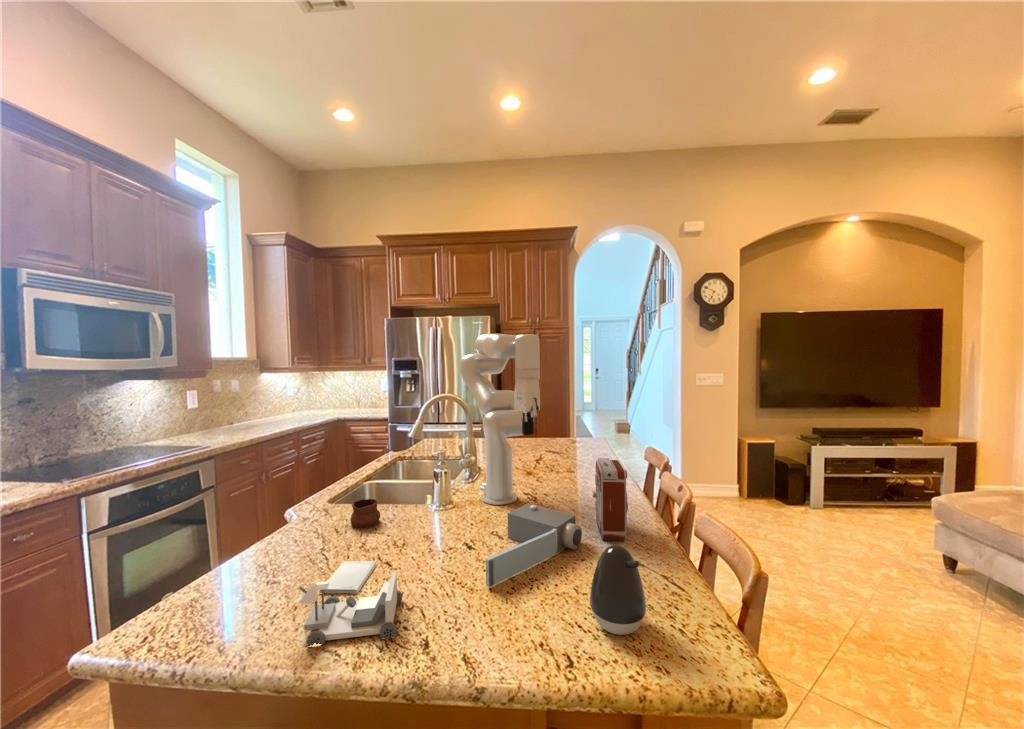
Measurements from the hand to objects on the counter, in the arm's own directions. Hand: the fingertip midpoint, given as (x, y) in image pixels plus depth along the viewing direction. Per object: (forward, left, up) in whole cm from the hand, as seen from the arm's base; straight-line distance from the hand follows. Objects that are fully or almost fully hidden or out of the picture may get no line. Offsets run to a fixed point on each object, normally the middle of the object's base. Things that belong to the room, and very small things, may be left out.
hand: (527, 434), depth 127 cm
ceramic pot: (-40, -31, -28) cm, 57 cm away
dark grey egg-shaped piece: (+42, -30, -27) cm, 58 cm away
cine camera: (+22, +10, -27) cm, 36 cm away
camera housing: (+12, -8, -27) cm, 31 cm away
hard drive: (-14, -51, -28) cm, 60 cm away
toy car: (+1, -60, -28) cm, 66 cm away
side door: (+16, -24, -27) cm, 40 cm away
